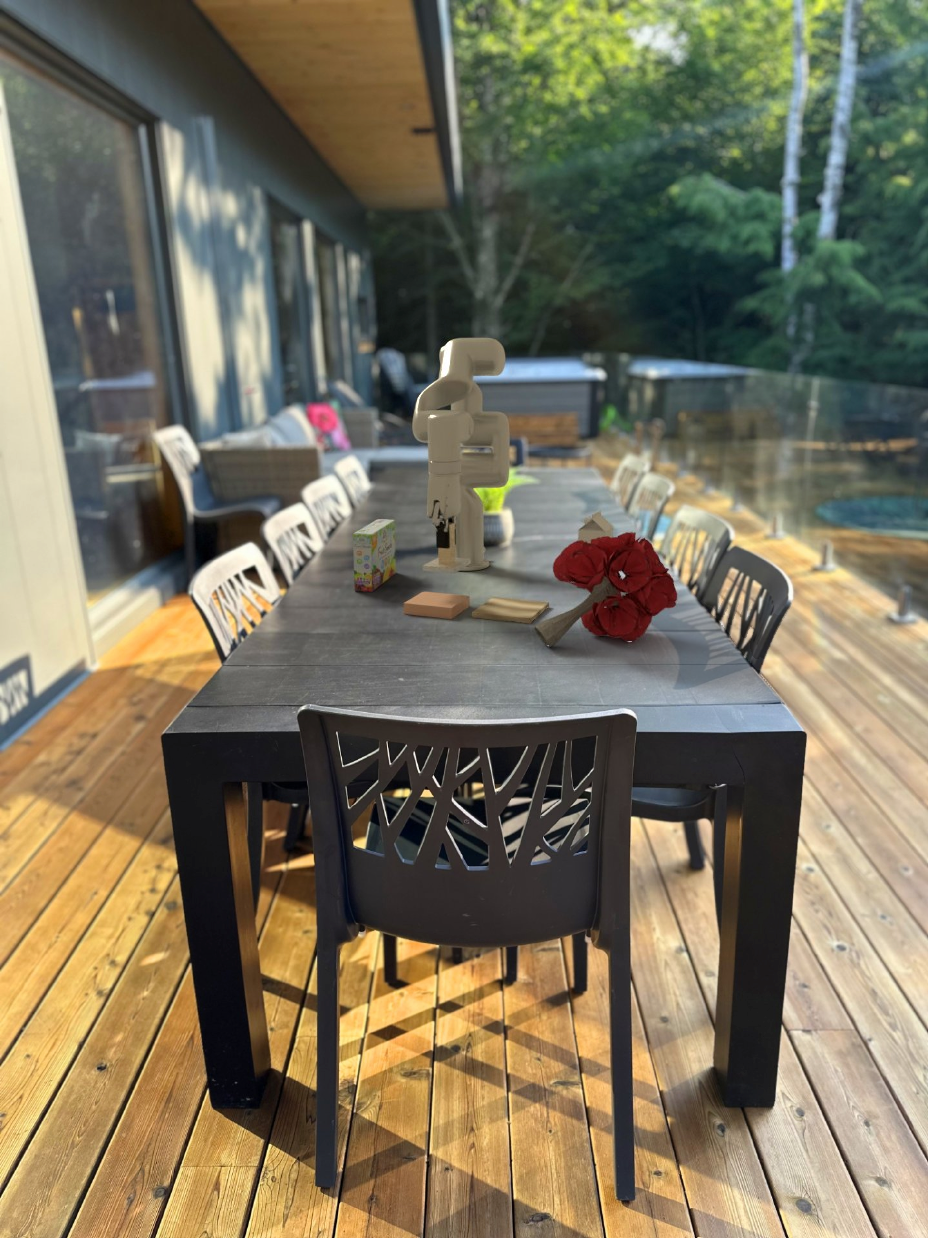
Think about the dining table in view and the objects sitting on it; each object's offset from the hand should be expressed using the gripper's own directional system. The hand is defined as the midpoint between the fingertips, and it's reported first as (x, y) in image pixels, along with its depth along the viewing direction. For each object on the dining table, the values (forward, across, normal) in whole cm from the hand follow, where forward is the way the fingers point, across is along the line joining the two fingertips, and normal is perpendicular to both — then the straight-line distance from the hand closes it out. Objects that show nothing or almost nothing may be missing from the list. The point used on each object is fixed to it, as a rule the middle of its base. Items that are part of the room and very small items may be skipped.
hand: (446, 545), depth 214 cm
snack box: (+14, -13, -26) cm, 32 cm away
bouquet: (+14, +15, +42) cm, 47 cm away
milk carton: (+14, -28, +29) cm, 43 cm away
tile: (+13, +1, 0) cm, 13 cm away
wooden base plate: (+14, +2, +17) cm, 22 cm away
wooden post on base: (+5, 0, 0) cm, 5 cm away
